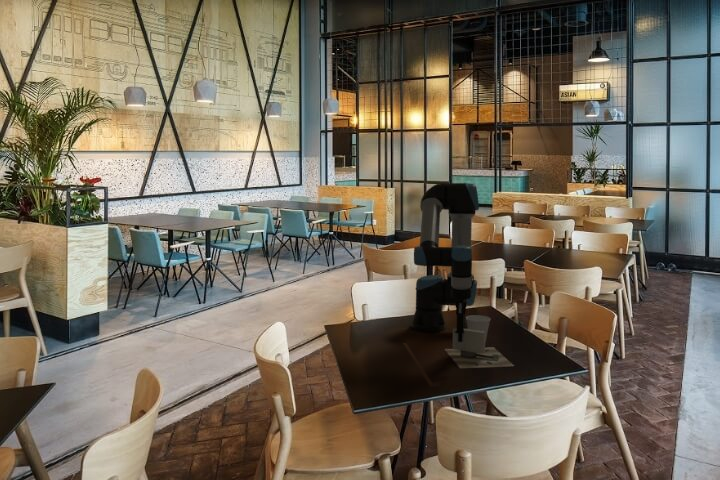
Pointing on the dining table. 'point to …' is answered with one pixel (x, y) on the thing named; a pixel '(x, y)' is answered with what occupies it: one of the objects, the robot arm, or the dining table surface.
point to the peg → (471, 343)
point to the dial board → (479, 359)
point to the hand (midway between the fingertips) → (460, 347)
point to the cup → (478, 323)
